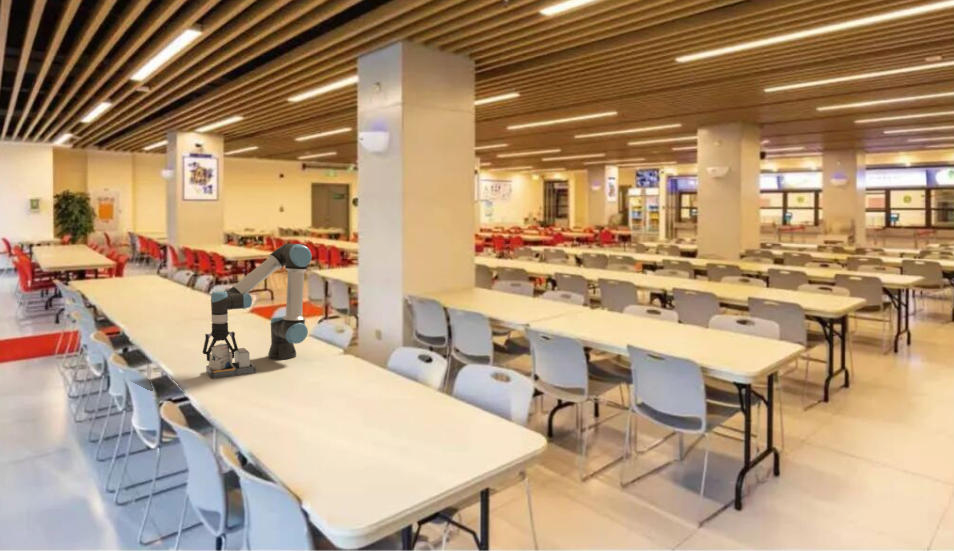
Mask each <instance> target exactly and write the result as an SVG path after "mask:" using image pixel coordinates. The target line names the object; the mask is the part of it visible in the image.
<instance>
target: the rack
mask: <svg viewBox="0 0 954 551" xmlns="http://www.w3.org/2000/svg"><path fill="white" fill-rule="evenodd" d="M256 370H257V368H256V365H254V364H253V363H252V362H251V361H250V351H249V350H247V349H246V348H245V347H241V348H239V347H238V351H235V352H234V361H233V362H232V365H230V366H229V367H226V368H224V369H221V370H213V369H212V368H210V367H209V364H208V365H206V373H207V375H208V376H209V378H210V380H214V379H221V378H223V379H224V378H228V377H230V378H231V377H236V376H244V375H252V374H256V373H257V371H256Z"/></svg>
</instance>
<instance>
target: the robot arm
mask: <svg viewBox="0 0 954 551" xmlns="http://www.w3.org/2000/svg"><path fill="white" fill-rule="evenodd" d="M311 261H312V252H311V250H310V249H309V247H308V246H306V245H303V244H301V243H291V242H290V243H289V242H288V243H284V244H283V245H281V246H279V247H278V248H276V249H274V251H273V252H271V253H270V254H269V255H268V258H267V259H266V260H264V261H263V262H262V263H260V264H259V265H258V266H257V267H255V269H253V270H252V271H251V272H249V273H248V274H246V275H245V276H244V277H243V278H242V279H240V281H237V283H236V284H234V285H232V287H230V288H229V289H228V290H227V289H226V290H222V291H221V290H218V291H217V290H216V291H212V292H211V294H210V295H211V297H210V308H211V331H210V333H205V334H204V337H205V339H204V343H203V344H204V345H203V348H202V354H203V355H206V361H207V362H208V365H209V367H210V368H212V349H211V347H214V346H216V343H217V342H220V341H221V342H222V341H224V342H225V344H227V345H228V347H229V353H230V354H229V355H230V365H232V363H233V359H235V351H238V348H239V347H238V343H237V341H236V337H235V335H236V332H235V331H229V323H228V321H229V315H228V313H229V312H228V311H230V310H241V309H247V308H248V309H249V308H251V307H252V305H253V304H252V303H253V299H252V296H251V294H250V293H249V292H251V291H252V290H253V289H254V288H256V287H257V286H258V285H259V284H260V283H262V282H263V281H265V280H266V279H267V278H268V277H270V275H272V274H273V273H274V272H276V271H277V270H279V269H282V268H284V269H285V270H286V271H287V280H286V281H287V285H286V286H287V287H286V301H285V302H286V304H285V307H286V308H285V309H286V310H285V315H284V316H283V315H282V316H274V317H272V318H271V320H270V339H271V340H270V342H271V343H270V348H269V350H268V359H270V360H280V361H281V360H290V359H293V358H296V357H297V351H296V348H295V344H301V343H302V342H304V341H305V340H306V338H307V337H308V334H309V330H308V327H307V326H306V322H305V321H306V320H305V319H306V318H305V317H304V316H303V305H304V304H303V302H304V287H305V286H304V284H305V272H306V271H307V270H308V265H309V264H310V263H311ZM228 336H230V337H231V341H232V344H233V346H232V345H231V343H230V341H229V339H228ZM211 337H212V341H211V342H210V345H209V341H210V338H211ZM208 345H209V346H208Z"/></svg>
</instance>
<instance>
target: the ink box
mask: <svg viewBox="0 0 954 551" xmlns="http://www.w3.org/2000/svg"><path fill="white" fill-rule="evenodd" d="M211 349H212V351H211V357H212V369H213V370H221V369H224V368H226V367H229V366H230V353H229V352H230V348H229V347H228V345H227V343H219V344H215V345H214V347H211Z"/></svg>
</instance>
